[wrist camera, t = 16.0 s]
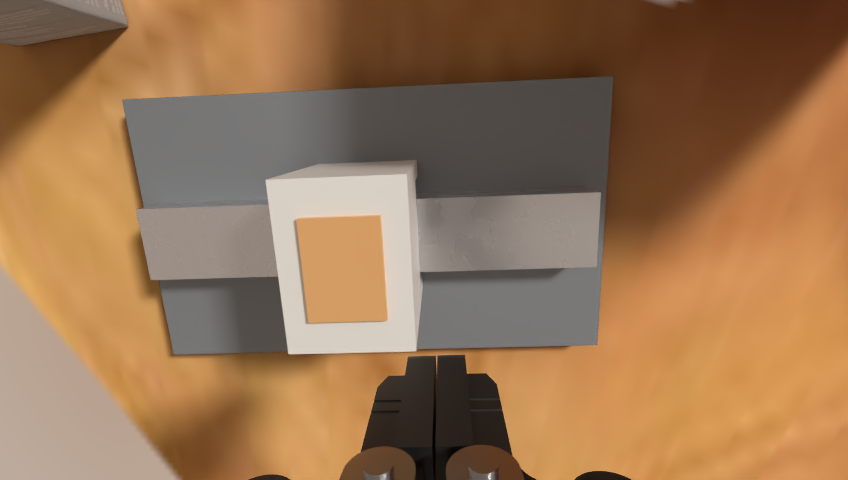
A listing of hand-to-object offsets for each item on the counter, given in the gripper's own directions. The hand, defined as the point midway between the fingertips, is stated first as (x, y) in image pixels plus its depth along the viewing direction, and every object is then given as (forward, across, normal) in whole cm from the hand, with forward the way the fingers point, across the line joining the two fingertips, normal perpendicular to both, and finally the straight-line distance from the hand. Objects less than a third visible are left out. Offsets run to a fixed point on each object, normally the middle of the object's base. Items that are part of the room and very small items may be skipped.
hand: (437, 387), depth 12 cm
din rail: (+12, +3, -2) cm, 13 cm away
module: (+12, +4, -2) cm, 13 cm away
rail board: (+13, +4, -2) cm, 14 cm away
